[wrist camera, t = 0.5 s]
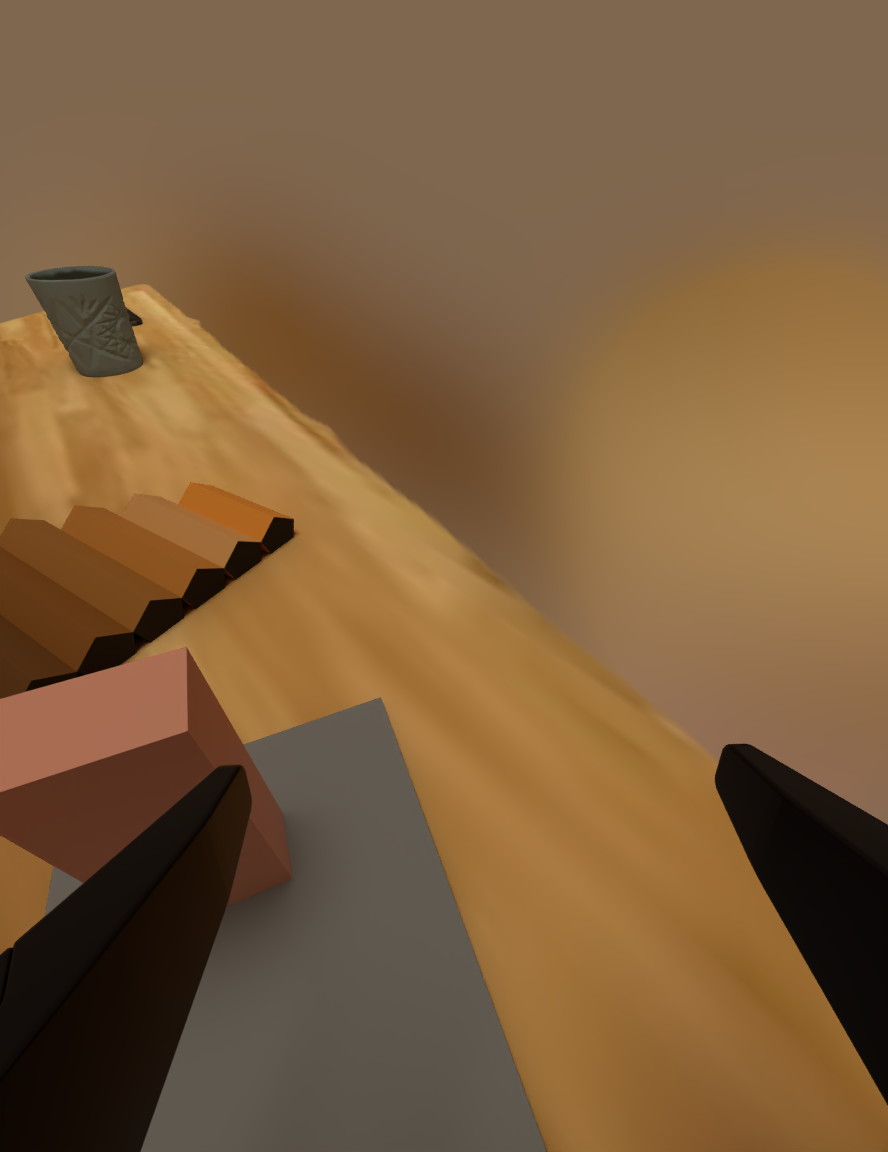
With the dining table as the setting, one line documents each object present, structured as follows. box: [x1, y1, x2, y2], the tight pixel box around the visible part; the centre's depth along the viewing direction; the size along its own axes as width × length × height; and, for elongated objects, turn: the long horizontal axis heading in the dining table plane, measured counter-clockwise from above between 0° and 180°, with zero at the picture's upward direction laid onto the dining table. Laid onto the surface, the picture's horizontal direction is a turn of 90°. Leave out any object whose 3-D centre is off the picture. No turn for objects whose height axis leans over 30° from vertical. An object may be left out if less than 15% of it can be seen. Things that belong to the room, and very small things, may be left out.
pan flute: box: [0, 482, 294, 699], centre depth 36 cm, size 25×3×25 cm
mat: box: [45, 697, 547, 1152], centre depth 19 cm, size 20×16×1 cm
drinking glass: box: [25, 266, 143, 377], centre depth 66 cm, size 10×10×12 cm
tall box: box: [0, 647, 293, 906], centre depth 17 cm, size 3×5×12 cm, turn 113°
